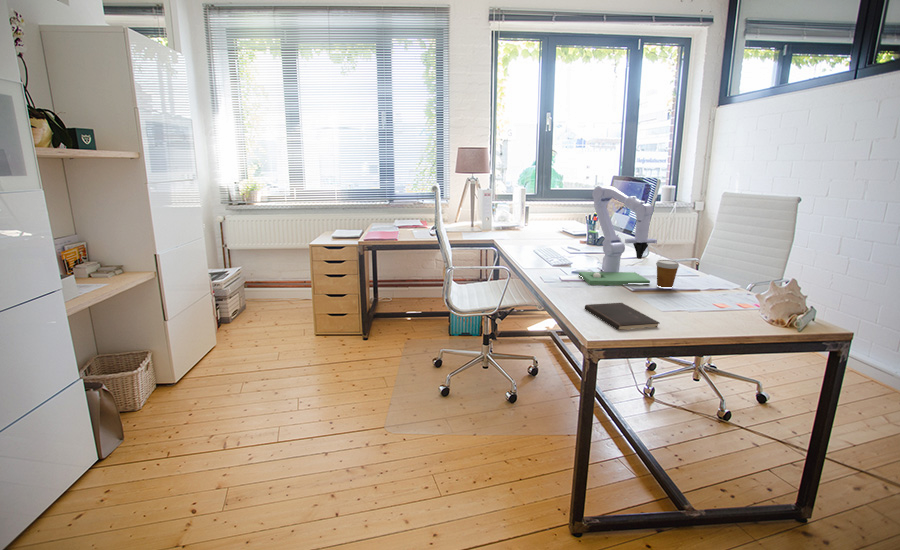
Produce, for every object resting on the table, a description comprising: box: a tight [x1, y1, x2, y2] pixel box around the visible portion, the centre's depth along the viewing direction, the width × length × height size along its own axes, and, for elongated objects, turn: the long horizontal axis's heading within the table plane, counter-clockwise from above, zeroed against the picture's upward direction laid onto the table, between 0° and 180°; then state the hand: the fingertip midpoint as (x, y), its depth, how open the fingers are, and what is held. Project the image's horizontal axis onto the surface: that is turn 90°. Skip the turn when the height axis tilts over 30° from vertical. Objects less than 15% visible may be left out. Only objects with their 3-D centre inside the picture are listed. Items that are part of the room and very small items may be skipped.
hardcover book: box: [584, 302, 660, 331], centre depth 174 cm, size 16×23×2 cm
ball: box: [593, 273, 601, 278], centre depth 224 cm, size 4×4×4 cm
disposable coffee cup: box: [655, 259, 680, 288], centre depth 213 cm, size 10×10×12 cm
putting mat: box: [578, 271, 651, 286], centre depth 225 cm, size 16×28×2 cm, turn 93°
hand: (639, 258), depth 225 cm, fingers closed
